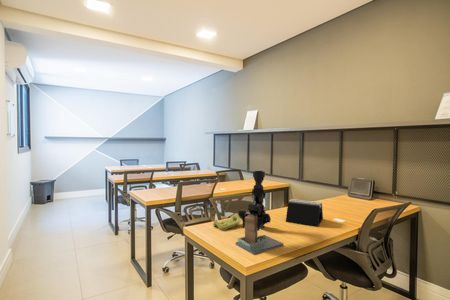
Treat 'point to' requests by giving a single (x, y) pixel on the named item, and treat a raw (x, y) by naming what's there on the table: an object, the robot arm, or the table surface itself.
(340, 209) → the table surface
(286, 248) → the table surface
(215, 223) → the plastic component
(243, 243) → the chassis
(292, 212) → the device stand
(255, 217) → the tall wooden pillar
